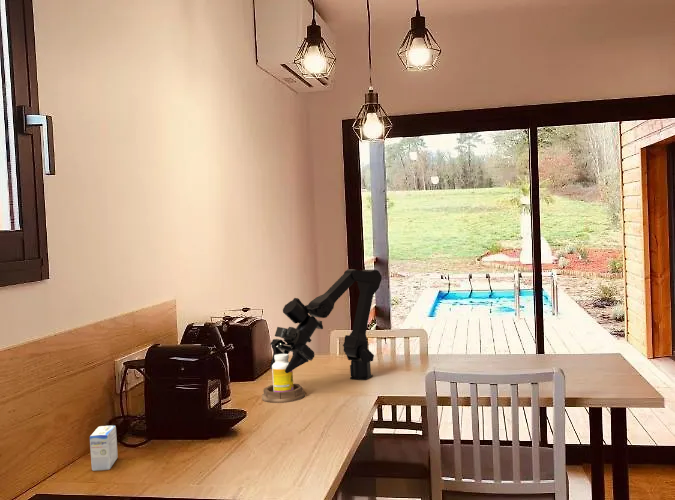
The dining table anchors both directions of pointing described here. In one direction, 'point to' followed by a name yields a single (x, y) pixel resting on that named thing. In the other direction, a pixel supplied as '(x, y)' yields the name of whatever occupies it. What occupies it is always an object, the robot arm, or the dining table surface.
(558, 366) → the dining table surface
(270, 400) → the cup stand
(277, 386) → the supplement bottle
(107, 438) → the medicine box
